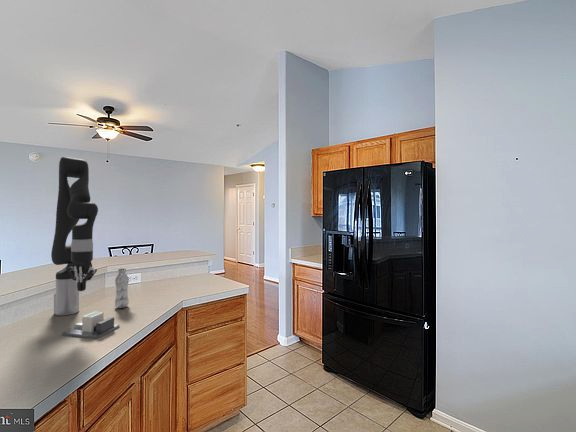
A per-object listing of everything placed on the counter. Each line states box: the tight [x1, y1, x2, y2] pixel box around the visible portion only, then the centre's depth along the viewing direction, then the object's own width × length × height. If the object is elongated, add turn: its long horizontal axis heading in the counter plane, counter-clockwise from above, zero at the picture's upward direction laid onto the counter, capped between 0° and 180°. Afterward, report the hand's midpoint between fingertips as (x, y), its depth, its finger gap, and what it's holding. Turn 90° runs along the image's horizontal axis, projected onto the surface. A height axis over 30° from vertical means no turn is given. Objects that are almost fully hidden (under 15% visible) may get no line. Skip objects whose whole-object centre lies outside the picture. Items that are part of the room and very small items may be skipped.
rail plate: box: [61, 316, 120, 339], centre depth 122 cm, size 16×12×5 cm
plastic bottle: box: [114, 268, 130, 309], centre depth 151 cm, size 6×7×20 cm
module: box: [81, 311, 105, 332], centre depth 121 cm, size 4×6×6 cm
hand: (81, 290), depth 122 cm, fingers closed
